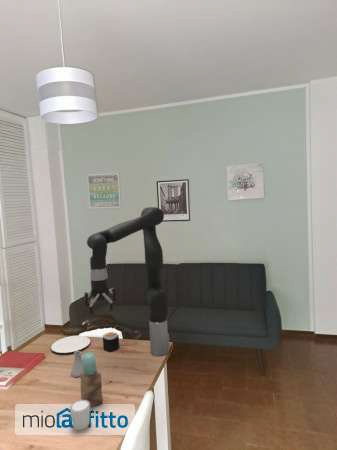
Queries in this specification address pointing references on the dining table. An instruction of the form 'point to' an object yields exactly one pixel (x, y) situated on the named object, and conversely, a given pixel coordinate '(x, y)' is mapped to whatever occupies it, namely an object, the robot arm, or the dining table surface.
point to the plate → (70, 344)
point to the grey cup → (80, 414)
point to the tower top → (91, 382)
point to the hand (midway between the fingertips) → (101, 312)
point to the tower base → (92, 397)
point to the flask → (77, 365)
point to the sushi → (111, 342)
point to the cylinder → (89, 364)
